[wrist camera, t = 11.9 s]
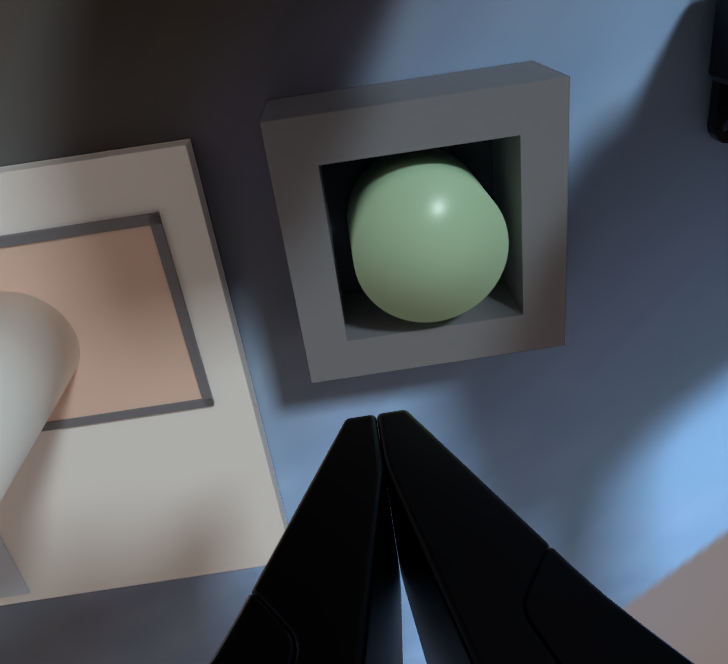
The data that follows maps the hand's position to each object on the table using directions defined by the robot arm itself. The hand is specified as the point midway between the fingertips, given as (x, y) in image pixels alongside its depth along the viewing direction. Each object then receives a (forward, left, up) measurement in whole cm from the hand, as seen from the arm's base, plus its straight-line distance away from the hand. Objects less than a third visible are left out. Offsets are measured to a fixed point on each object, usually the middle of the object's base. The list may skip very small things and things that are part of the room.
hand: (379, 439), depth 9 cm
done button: (-2, +1, -11) cm, 12 cm away
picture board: (+14, +6, -12) cm, 19 cm away
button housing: (-2, +1, -12) cm, 12 cm away
